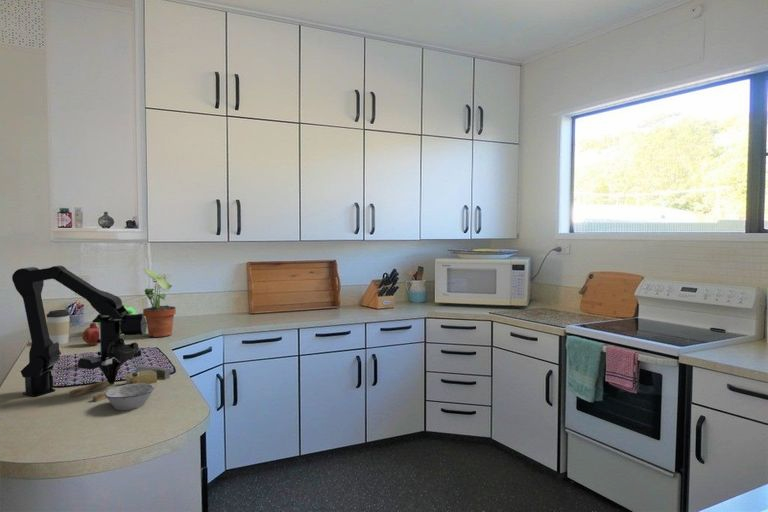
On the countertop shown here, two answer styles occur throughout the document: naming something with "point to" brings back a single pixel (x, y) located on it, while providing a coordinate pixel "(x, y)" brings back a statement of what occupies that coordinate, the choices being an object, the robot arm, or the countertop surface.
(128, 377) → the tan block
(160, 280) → the potted plant
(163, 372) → the bench stop
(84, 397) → the countertop surface
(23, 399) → the countertop surface
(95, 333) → the fruit
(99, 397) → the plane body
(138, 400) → the bowl
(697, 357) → the countertop surface
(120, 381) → the countertop surface
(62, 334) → the coffee cup
